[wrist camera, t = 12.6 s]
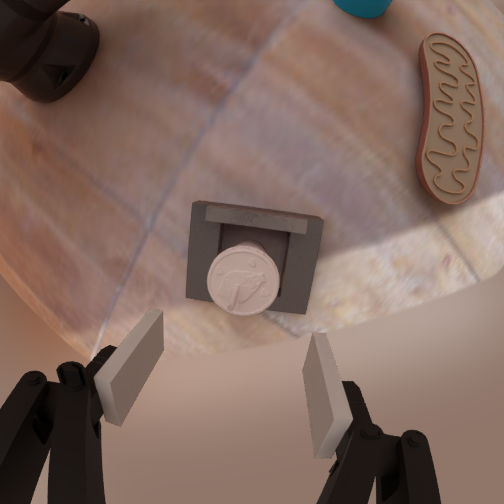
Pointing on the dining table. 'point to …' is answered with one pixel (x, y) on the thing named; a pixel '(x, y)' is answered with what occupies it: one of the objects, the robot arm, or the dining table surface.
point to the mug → (363, 7)
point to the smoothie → (243, 279)
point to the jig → (297, 225)
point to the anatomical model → (450, 120)
